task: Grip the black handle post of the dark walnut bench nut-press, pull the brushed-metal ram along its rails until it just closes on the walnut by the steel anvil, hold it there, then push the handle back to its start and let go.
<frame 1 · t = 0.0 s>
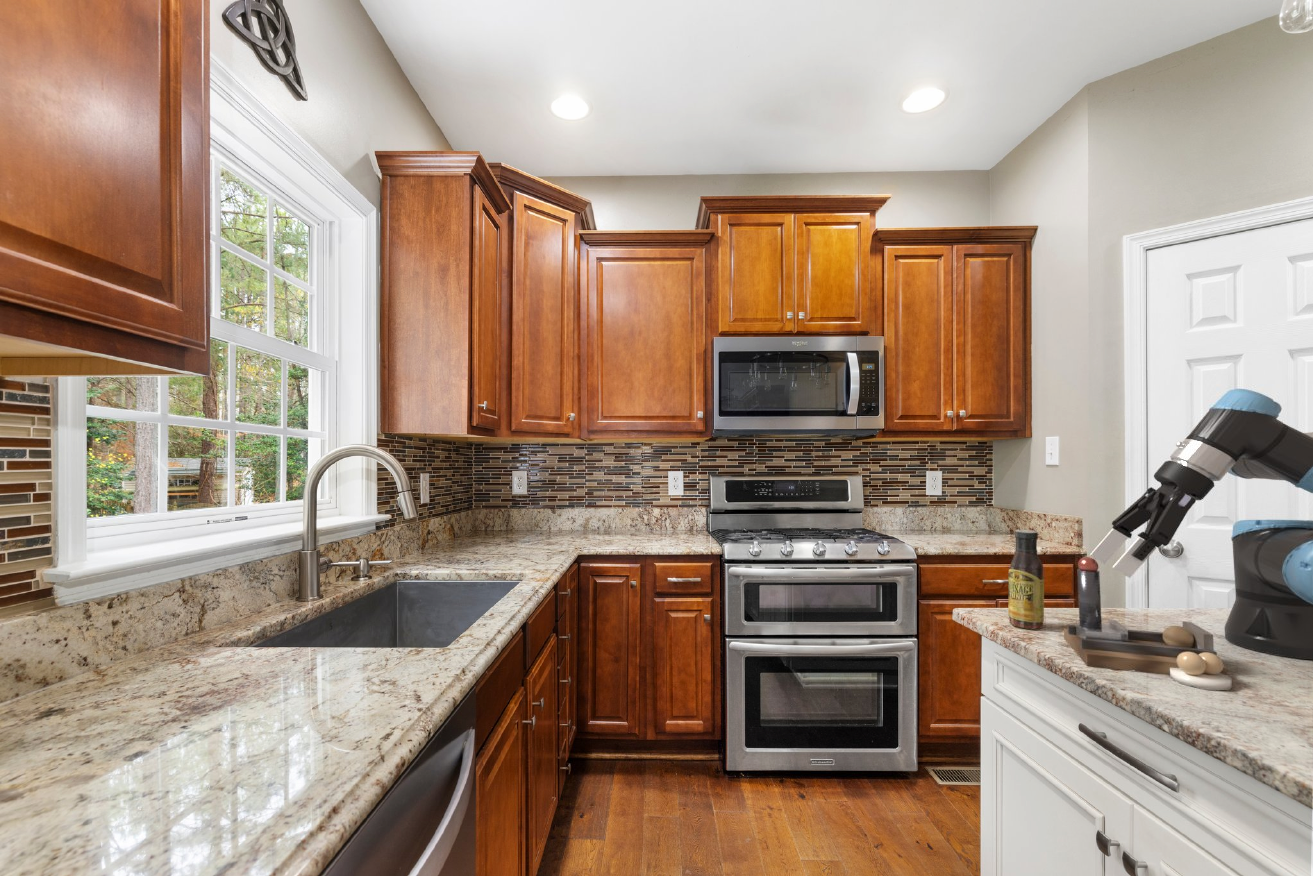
hand: (1108, 565, 106), 15 cm above the countertop, tool tilted 35°, fingers open, 13 cm apart
ram: (1099, 599, 104), point 10 cm above the countertop, slide at 0.0 cm
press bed: (1136, 657, 102), on the countertop
sauce bottle: (1027, 627, 121), on the countertop
walnut: (1179, 661, 99), resting on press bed
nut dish: (1200, 681, 90), on the countertop
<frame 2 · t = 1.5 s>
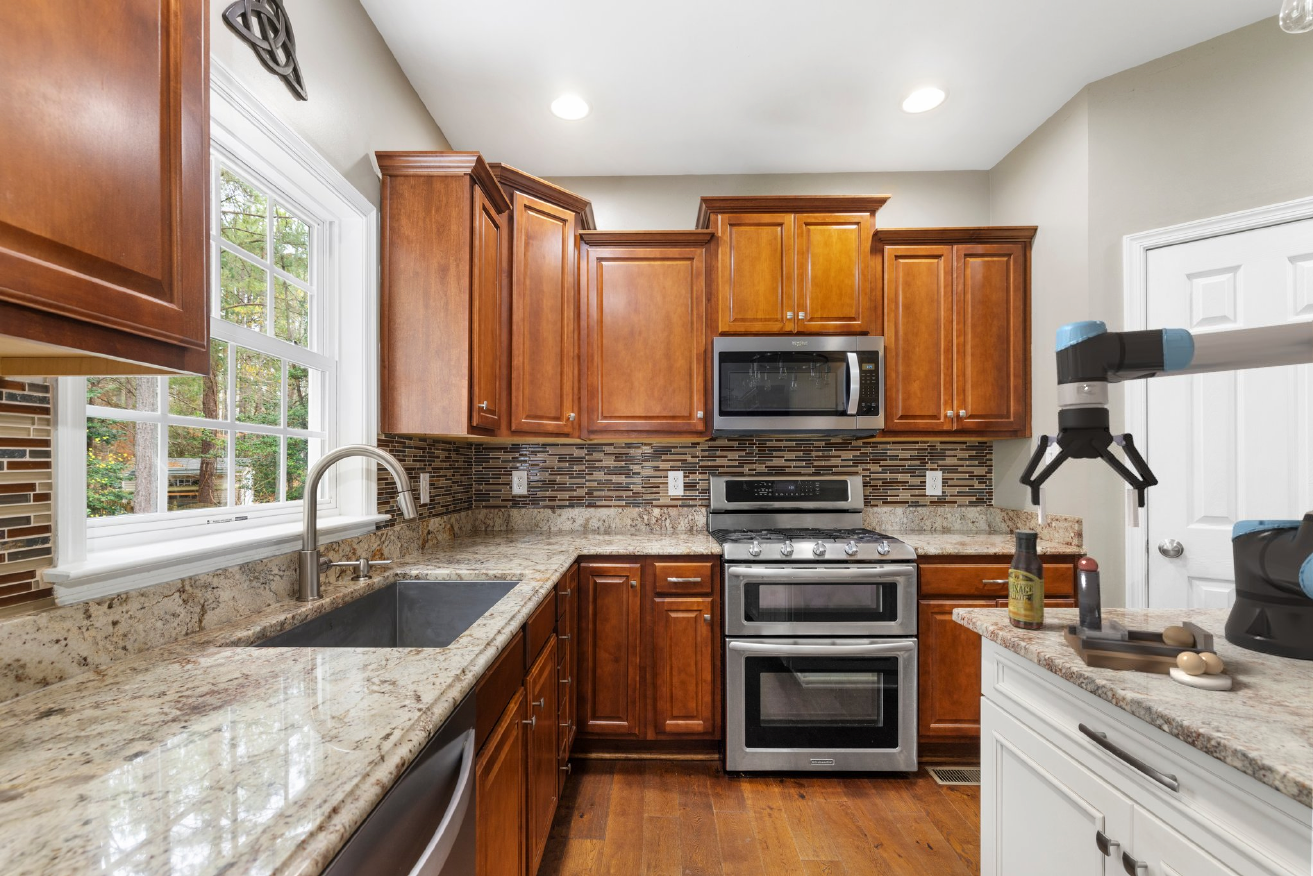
hand: (1086, 525, 105), 23 cm above the countertop, tool pointing down, fingers open, 13 cm apart
nothing on the countertop moved.
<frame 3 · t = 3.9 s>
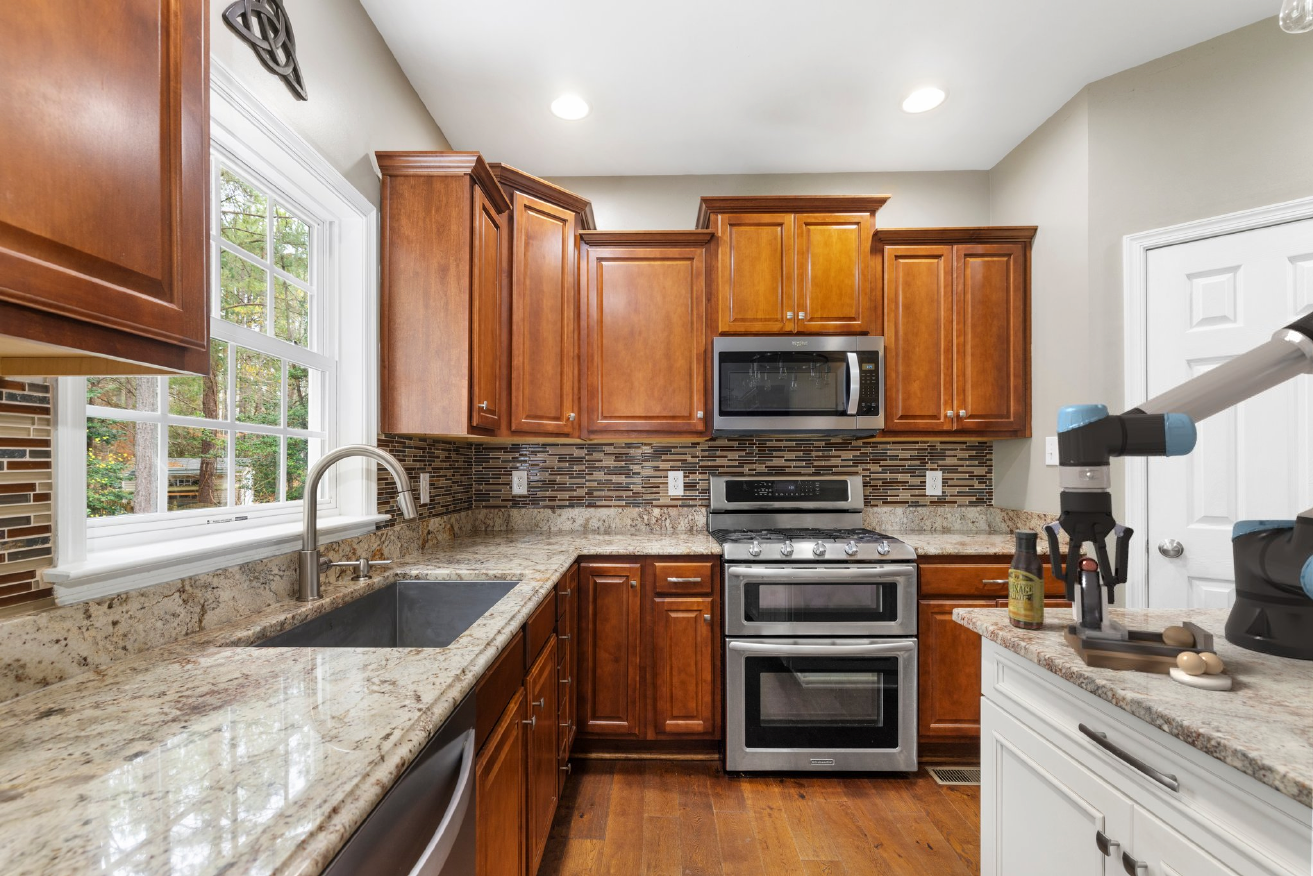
hand: (1090, 620, 104), 6 cm above the countertop, tool pointing down, fingers closed on ram, 3 cm apart
ram: (1099, 599, 104), point 10 cm above the countertop, slide at 0.0 cm, touching gripper
everything else where it was.
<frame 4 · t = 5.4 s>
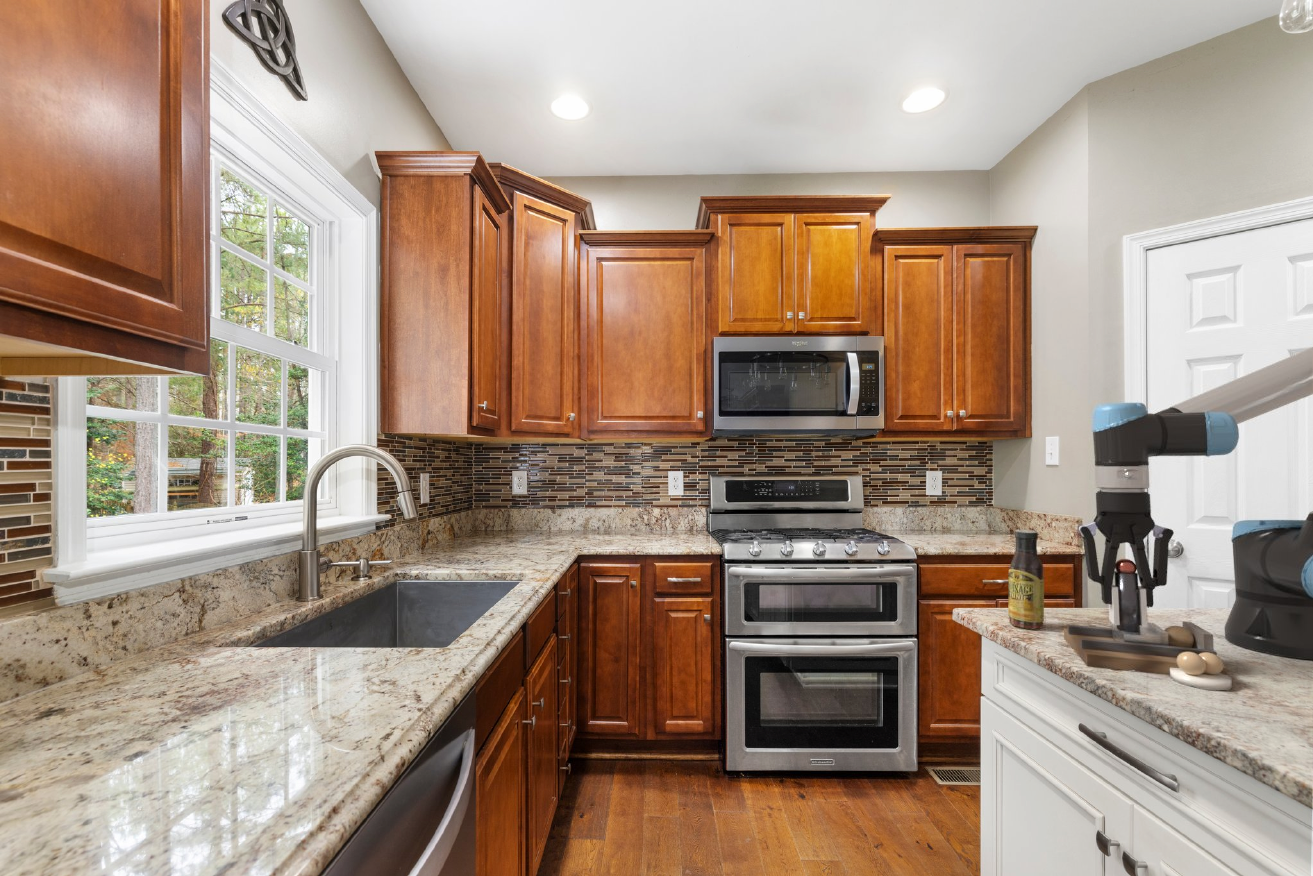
hand: (1128, 623, 102), 6 cm above the countertop, tool pointing down, fingers closed on ram, 3 cm apart
ram: (1137, 601, 102), point 10 cm above the countertop, slide at 5.5 cm, touching gripper
everything else where it was.
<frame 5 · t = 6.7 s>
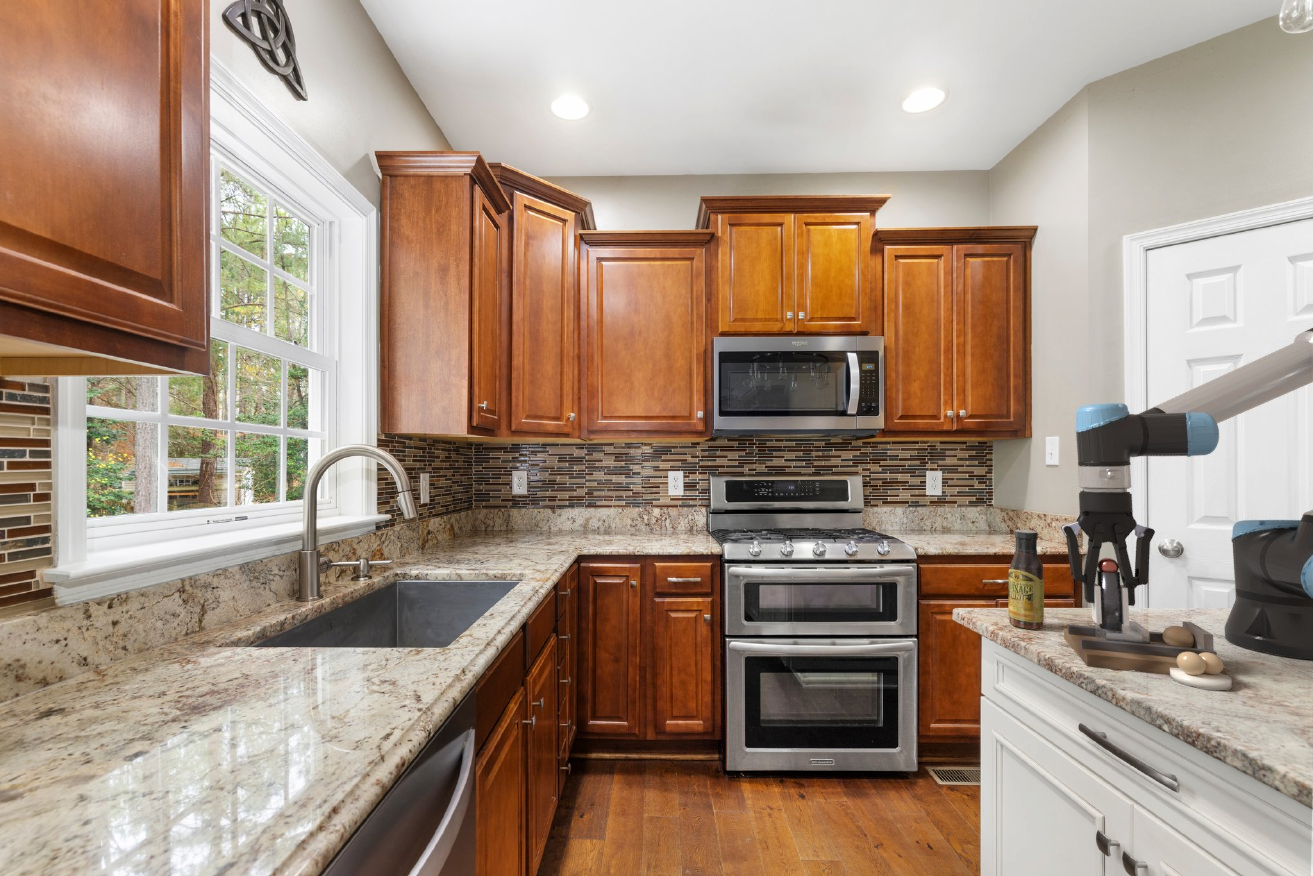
hand: (1110, 622, 103), 6 cm above the countertop, tool pointing down, fingers closed on ram, 3 cm apart
ram: (1119, 600, 103), point 10 cm above the countertop, slide at 2.9 cm, touching gripper
everything else where it was.
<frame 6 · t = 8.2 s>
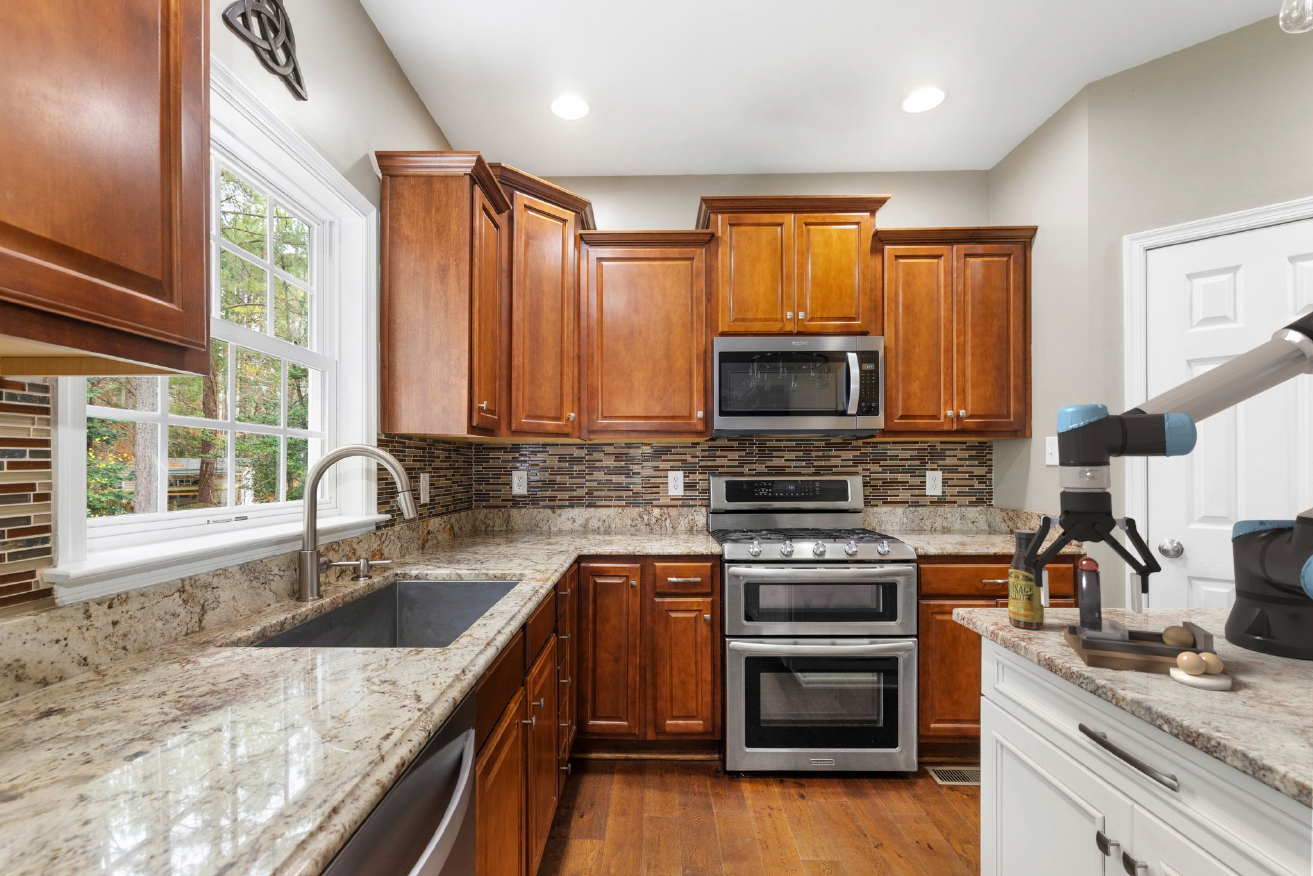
hand: (1089, 608, 104), 8 cm above the countertop, tool pointing down, fingers open, 13 cm apart
ram: (1099, 599, 104), point 10 cm above the countertop, slide at 0.0 cm
everything else where it was.
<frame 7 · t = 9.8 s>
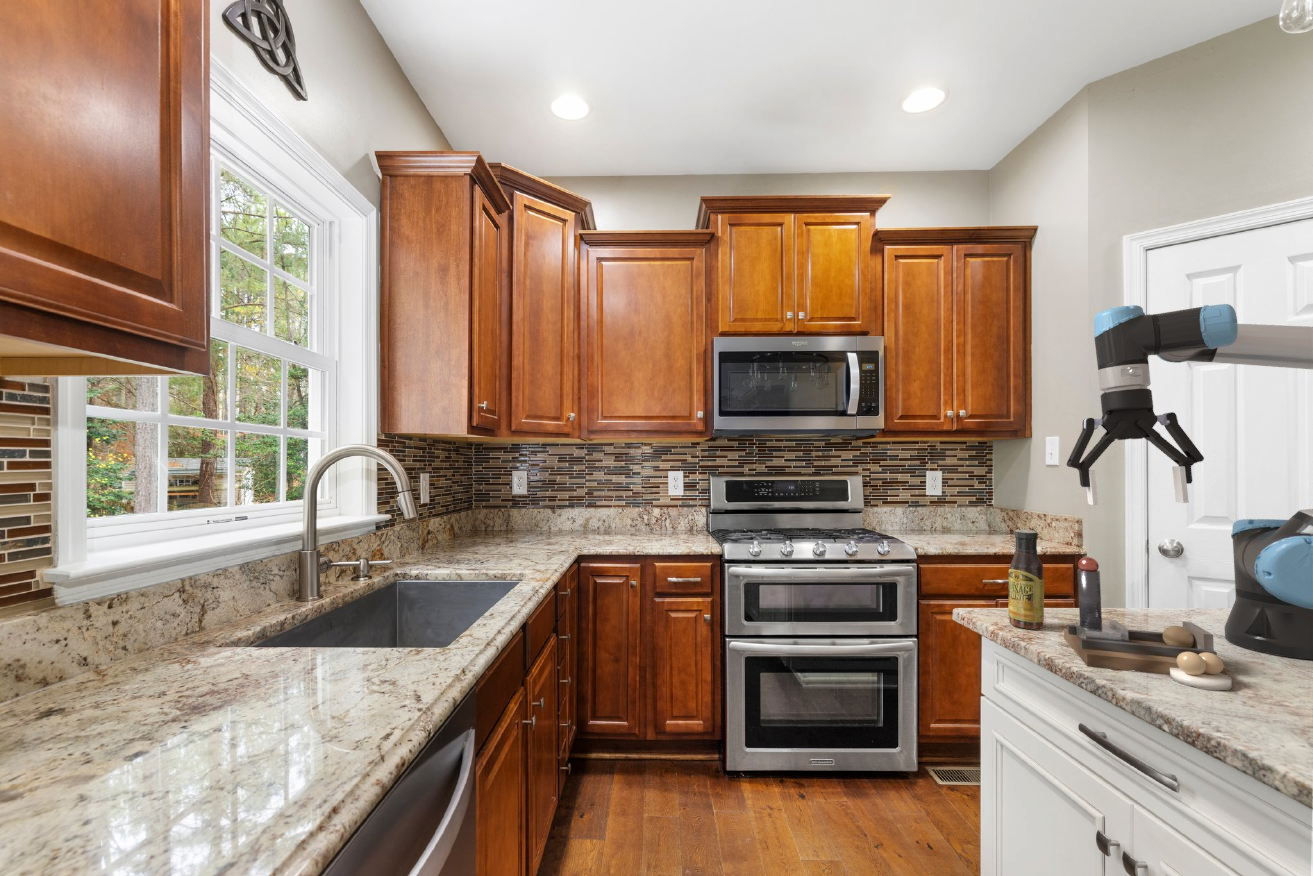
hand: (1136, 503, 108), 26 cm above the countertop, tool pointing down, fingers open, 13 cm apart
nothing on the countertop moved.
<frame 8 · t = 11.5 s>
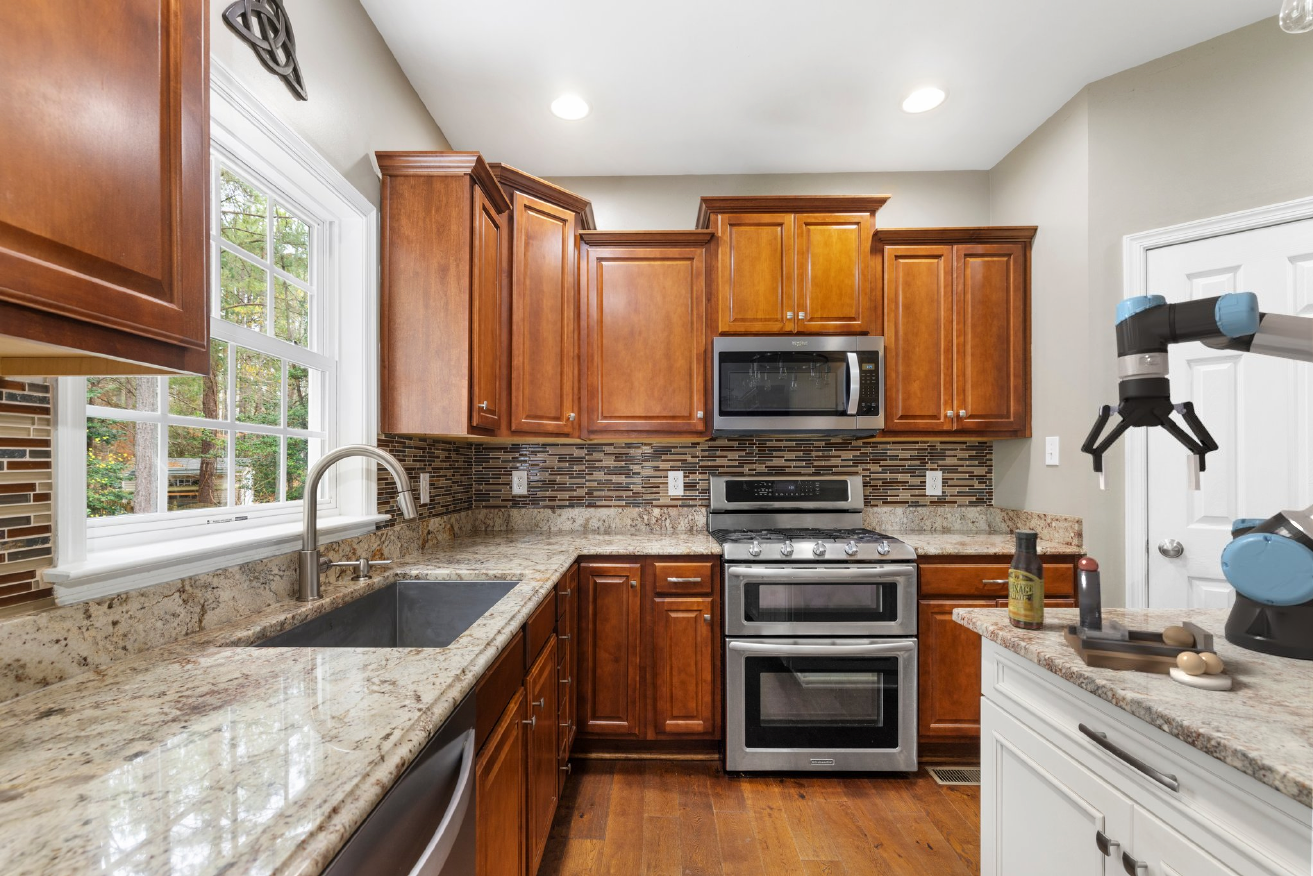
hand: (1148, 489, 110), 29 cm above the countertop, tool pointing down, fingers open, 13 cm apart
nothing on the countertop moved.
at the end: ram slide at 0.0 cm; the gripper is holding nothing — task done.
